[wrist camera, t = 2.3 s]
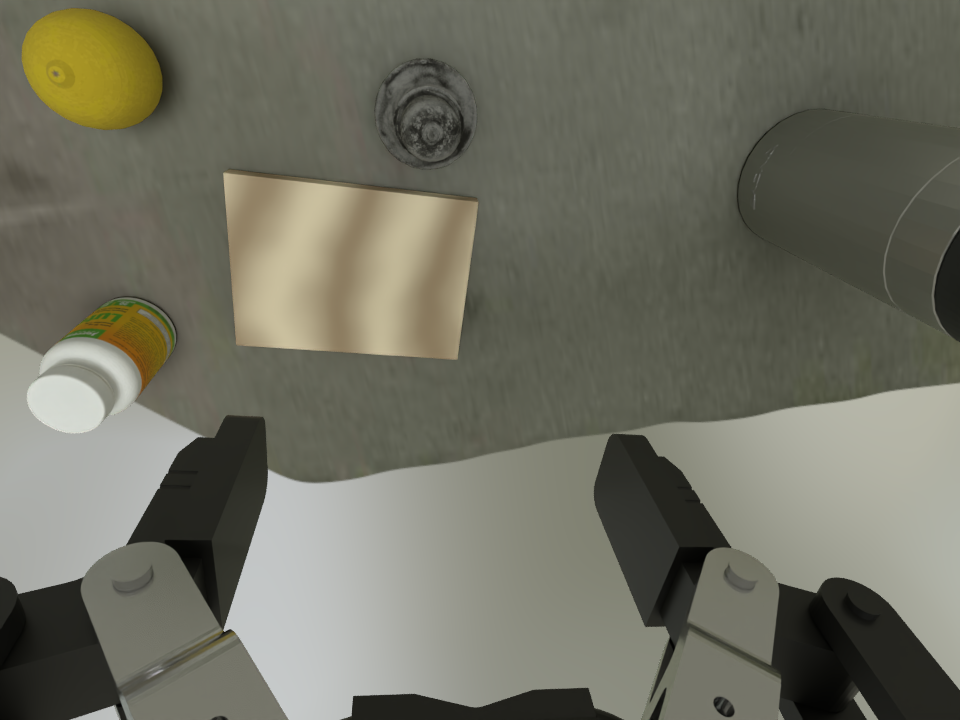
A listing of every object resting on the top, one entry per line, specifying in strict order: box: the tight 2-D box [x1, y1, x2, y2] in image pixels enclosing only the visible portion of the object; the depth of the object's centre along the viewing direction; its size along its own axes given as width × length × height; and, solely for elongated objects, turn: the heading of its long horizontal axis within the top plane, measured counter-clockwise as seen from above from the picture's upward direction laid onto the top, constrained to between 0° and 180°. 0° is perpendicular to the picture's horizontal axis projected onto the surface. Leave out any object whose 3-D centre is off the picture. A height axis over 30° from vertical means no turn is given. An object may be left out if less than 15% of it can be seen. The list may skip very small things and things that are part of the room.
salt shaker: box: [375, 59, 477, 169], centre depth 30 cm, size 6×6×12 cm
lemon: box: [22, 8, 162, 130], centre depth 29 cm, size 6×6×8 cm
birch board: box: [223, 169, 479, 360], centre depth 39 cm, size 16×12×1 cm
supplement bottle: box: [27, 297, 176, 433], centre depth 36 cm, size 5×5×10 cm
